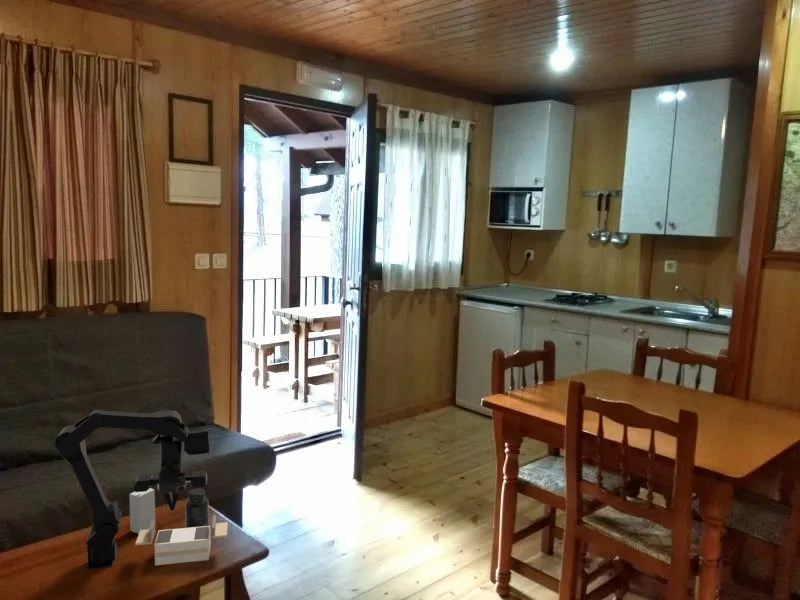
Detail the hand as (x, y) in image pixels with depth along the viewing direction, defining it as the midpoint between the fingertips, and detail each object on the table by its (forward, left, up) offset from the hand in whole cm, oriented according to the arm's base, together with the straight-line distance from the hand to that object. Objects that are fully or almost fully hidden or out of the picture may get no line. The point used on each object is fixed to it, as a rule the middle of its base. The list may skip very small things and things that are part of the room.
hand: (172, 509), depth 174 cm
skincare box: (-11, +16, -13) cm, 23 cm away
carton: (+3, -2, -12) cm, 13 cm away
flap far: (+13, -2, -6) cm, 15 cm away
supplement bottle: (+5, +13, -13) cm, 19 cm away
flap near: (-7, -3, -6) cm, 10 cm away
